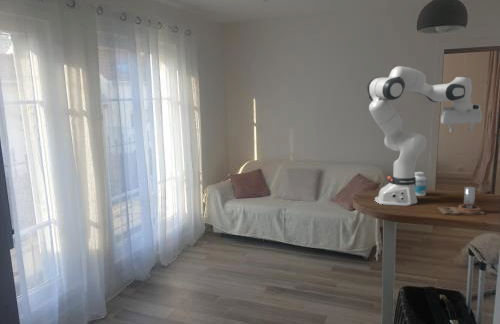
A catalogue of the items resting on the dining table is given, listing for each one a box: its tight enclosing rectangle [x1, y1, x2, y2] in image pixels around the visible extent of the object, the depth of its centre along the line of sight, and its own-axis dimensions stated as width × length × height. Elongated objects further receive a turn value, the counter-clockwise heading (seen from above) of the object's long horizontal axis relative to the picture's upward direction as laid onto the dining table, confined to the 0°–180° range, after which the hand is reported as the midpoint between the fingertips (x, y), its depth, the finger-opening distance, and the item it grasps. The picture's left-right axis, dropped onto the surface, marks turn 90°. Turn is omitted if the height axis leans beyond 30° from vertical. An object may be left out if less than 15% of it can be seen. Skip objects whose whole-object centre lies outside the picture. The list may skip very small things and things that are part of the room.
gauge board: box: [437, 203, 485, 216], centre depth 183 cm, size 18×10×2 cm, turn 81°
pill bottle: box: [415, 171, 427, 197], centre depth 217 cm, size 8×7×14 cm
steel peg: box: [463, 186, 476, 209], centre depth 182 cm, size 4×4×11 cm
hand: (460, 131), depth 205 cm, fingers open, 8 cm apart
